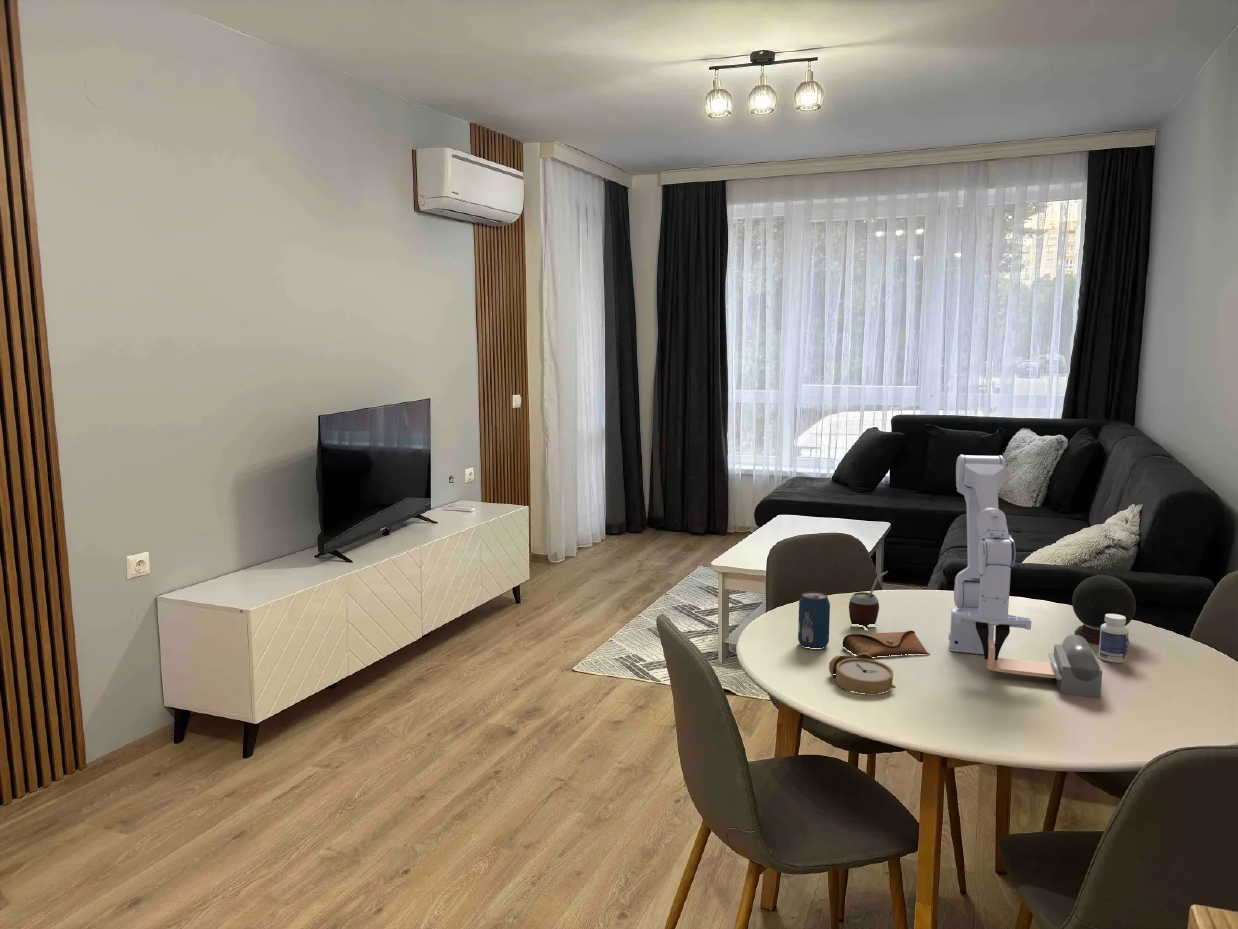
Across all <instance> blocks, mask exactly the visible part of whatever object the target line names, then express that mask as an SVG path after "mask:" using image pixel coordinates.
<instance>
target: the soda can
mask: <svg viewBox="0 0 1238 929" xmlns="http://www.w3.org/2000/svg"><path fill="white" fill-rule="evenodd" d="M830 615H831V601H830V600H829V598H828V594H827V593H824V592H821V591H806V592H802V593H801V597H800V599H799V600H798V628H797V630H798V631H797V640H798V642H799V644H801V645H802V646H804V647H810V648H823V647H825V648H826V647H827V646H828V644H829V642H830V623H831V620H830V619H831V618H830ZM801 645H800V646H801ZM802 646H801V647H802Z"/></svg>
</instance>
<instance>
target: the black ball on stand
mask: <svg viewBox="0 0 1238 929" xmlns="http://www.w3.org/2000/svg"><path fill="white" fill-rule="evenodd" d="M1076 586H1077V587H1076V588H1074V591H1073V594H1072V598H1071V600H1072V603H1071V604H1072V608H1073V609H1072V610H1073V612H1074V614H1075V616H1076V618H1077V619H1078V620H1079V622H1080V623H1082V625H1079V626H1077V628H1076V629H1075V630H1074V634H1073V635H1079V636H1082V637H1083V638H1085V639H1086V641H1087V642H1088V644H1093V645H1097V646H1099V642H1100V628H1101V625H1102V624H1104V623H1106V622H1105V615H1106V614H1118V615H1122V616H1124V617H1126V623H1125V625H1124V626H1126V627H1127V625H1128V624H1130V623H1131V622H1132V620H1133V618H1134V616H1135V614H1136V609H1137V602H1136V597H1135V595H1134V593H1133V591H1132V589H1131V588H1130V586H1128V585H1127V584H1126V583H1125V582H1124V581H1122V580H1121V579H1119V578H1118V577H1115V576H1111V575H1106V574H1098V575H1097V574H1095V575H1092V576H1090V577H1087V578H1085V579H1083V580H1082V581H1081V582H1080V583H1079V584H1078V585H1076ZM1128 642H1129V638H1128Z"/></svg>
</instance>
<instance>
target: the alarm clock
mask: <svg viewBox="0 0 1238 929" xmlns="http://www.w3.org/2000/svg"><path fill="white" fill-rule="evenodd" d="M828 671H829V674H830V675H831V676H832V677H833V678H835V684H838V685H837V686H838V687H839V686H840V687H839V688H841V689H842V688H844V689H846V690H848V691H854V692H858V693H865V694H878V693H882V692H886V691H889V690H890V689H891V688H892V689H895V688H896V685H894V684H893V681H894V670H893V669H892V668H891V667H890V666H888V665H887V664H885V663H884V662H882V661H878V660H875V658H874V659H873V658H872V656H870V655H869V654H866V653H861V654H858V655H857V656H853V655H835V656H834V657H833V658H832V659H831V660H830V661H829V662H828ZM833 674H836V675H835V676H833ZM844 689H843V690H844ZM892 689H891V690H892ZM846 690H845V691H846ZM891 690H890V691H891ZM848 691H847V692H848ZM890 691H889V692H890Z"/></svg>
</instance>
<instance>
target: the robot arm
mask: <svg viewBox="0 0 1238 929" xmlns="http://www.w3.org/2000/svg"><path fill="white" fill-rule="evenodd" d="M1006 474H1007V463H1006V459H1005V458H1004V457H1003V455H1001V454H999V455H967V454H965V455H964V454H960V455H959V456H957V459H956V464H955V483H956V484H955V485H956V488H957V489H956V491H957V493H959V494H961V495H963V496H964V500H965V504H966V505H965V506H966V535H967V536H966V537H967V538H966V543H967V545H966V546H967V547H966V548H967V566H966V567H965V568H964V569H962V570H960V571H959V572H957V574H956V576H955V578H954V588H953V601H954V605H955V607H956V608H951V611H950V628H949V630H950V632H948V641H949V651H950V650H951V651H950V652H959V653H967V654H974V655H983V660H986V661H987V660H988V639H993V640H994V644H995V660H996V661H997V660H998V658H999V655H1000V652H1001V649H1002V647H1003V645H1004V643H1005V641H1006V640H1007V638H1008V636H1009V634H1010V632H1011V629H1010V628H1017V629H1024V630H1029V631H1031V630H1032V619H1031V617H1024V616H1017V615H1013V614H1009V606H1010V605H1009V601H1010V586H1011V571H1012V568H1011V567H1014V566H1015V562H1016V555H1017V554H1016V545H1015V540H1014V539H1013V537H1012V535H1011V534H1009V529H1008V525H1007V524H1008V523H1007V518H1006V514H1005V512H1003V510H1002V509H1001V510H1000V509H999V495H998V494H999V493H1000V490H1001V488H1002V486H1003V483H1004V481H1005V479H1006ZM994 636H995V637H994Z"/></svg>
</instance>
